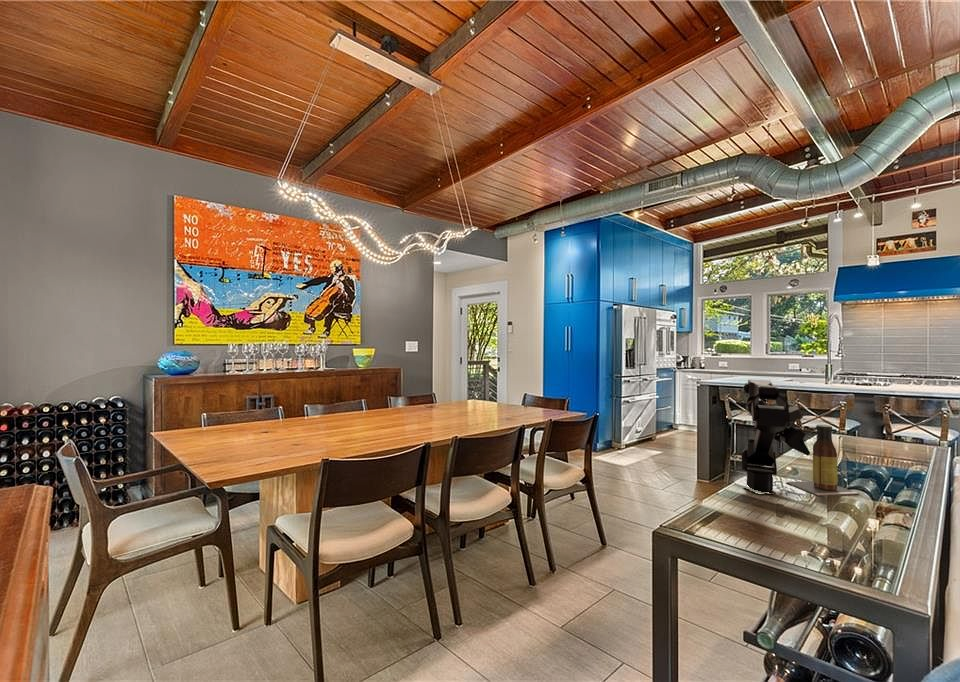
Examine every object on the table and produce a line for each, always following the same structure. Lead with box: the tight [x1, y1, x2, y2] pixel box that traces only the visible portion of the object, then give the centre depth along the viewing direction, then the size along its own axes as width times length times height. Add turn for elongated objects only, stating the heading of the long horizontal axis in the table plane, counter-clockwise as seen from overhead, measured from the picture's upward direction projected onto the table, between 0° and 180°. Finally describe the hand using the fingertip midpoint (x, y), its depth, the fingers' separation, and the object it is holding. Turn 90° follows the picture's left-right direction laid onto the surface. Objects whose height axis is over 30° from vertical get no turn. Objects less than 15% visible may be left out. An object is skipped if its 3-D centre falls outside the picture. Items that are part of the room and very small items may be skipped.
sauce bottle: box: [812, 424, 839, 490], centre depth 143 cm, size 7×6×20 cm
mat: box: [786, 480, 859, 497], centre depth 144 cm, size 14×12×1 cm
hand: (801, 450), depth 145 cm, fingers open, 9 cm apart
